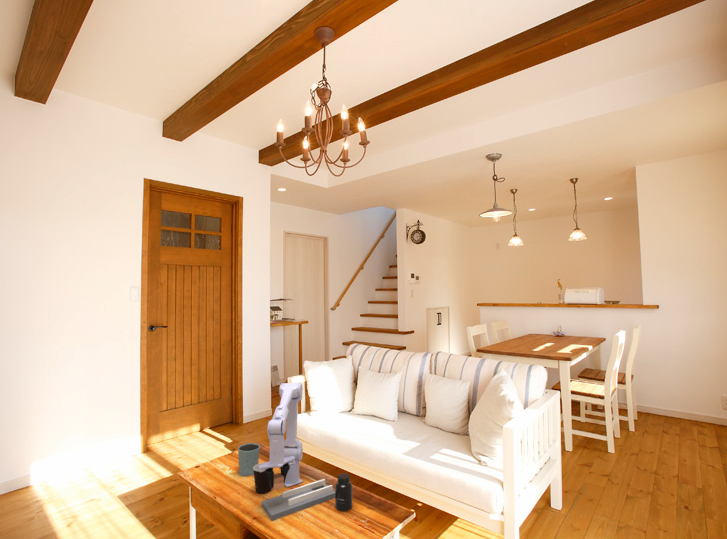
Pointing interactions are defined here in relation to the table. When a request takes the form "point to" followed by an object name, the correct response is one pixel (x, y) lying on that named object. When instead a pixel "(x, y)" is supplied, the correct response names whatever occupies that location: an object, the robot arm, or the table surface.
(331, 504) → the table surface
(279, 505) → the trap deck
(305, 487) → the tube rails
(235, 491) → the table surface
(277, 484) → the block
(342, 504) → the supplement bottle
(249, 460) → the grey green planter pot
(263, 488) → the coffee mug
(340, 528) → the table surface
